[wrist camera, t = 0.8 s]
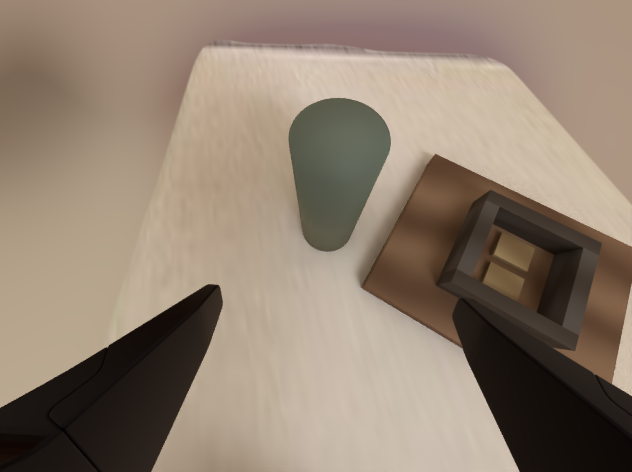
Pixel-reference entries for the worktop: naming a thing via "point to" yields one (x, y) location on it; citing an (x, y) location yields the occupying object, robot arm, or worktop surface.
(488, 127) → the worktop surface
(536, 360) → the robot arm
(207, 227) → the worktop surface
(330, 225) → the grey-green canister
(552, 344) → the walnut seat board
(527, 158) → the worktop surface
